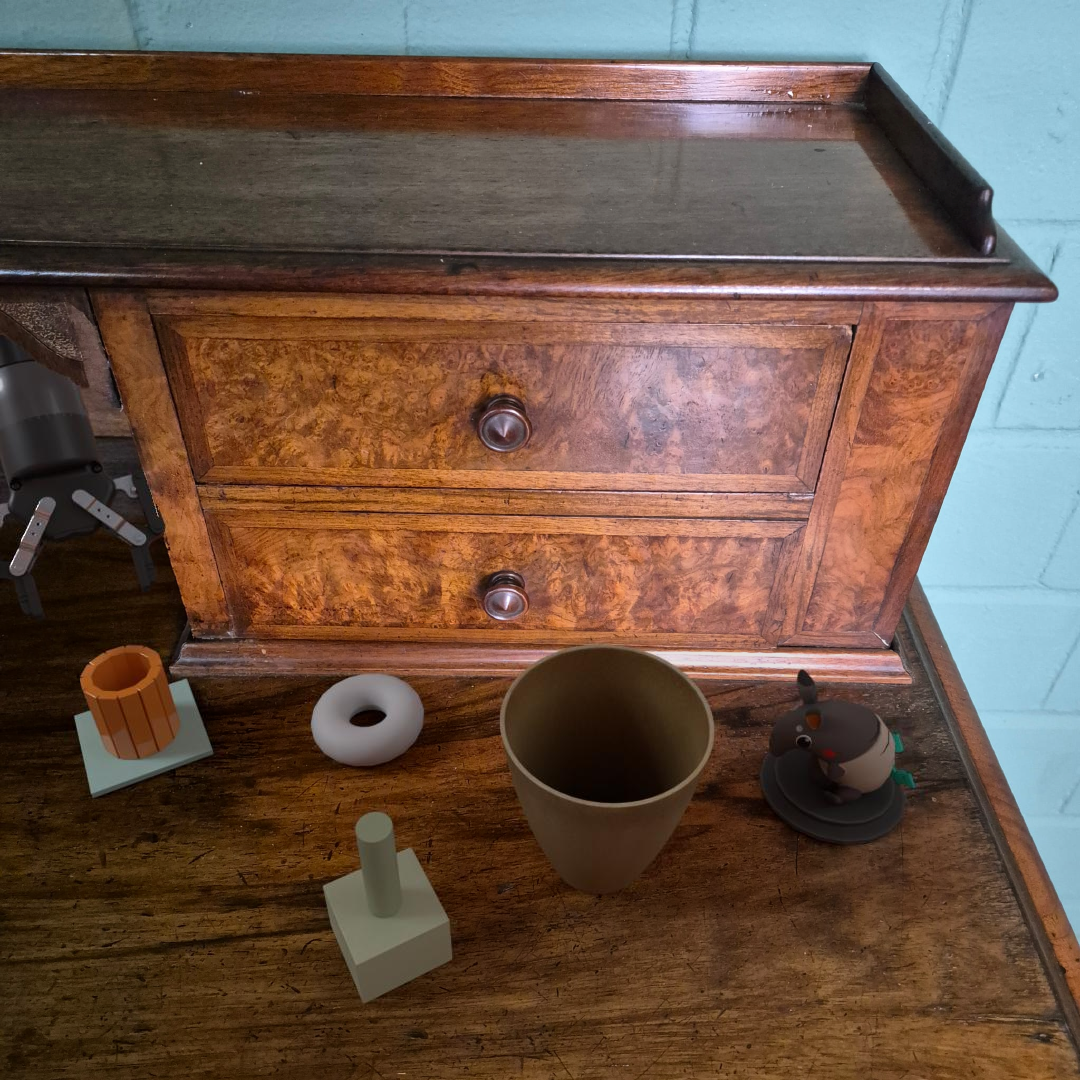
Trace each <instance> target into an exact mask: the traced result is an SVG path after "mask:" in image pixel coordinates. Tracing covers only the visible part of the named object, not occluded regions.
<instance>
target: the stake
mask: <svg viewBox="0 0 1080 1080" xmlns="http://www.w3.org/2000/svg"><path fill="white" fill-rule="evenodd" d="M354 833H355V838H356V844H357V850H358V856H359V862H360V869H358V870H356V871H352V872H350V873H348V874H346V875H344V876H342V877H340V878H337V879H335V880H333V881H330V882H328V883H325V884H324V885H323V886H322V889H323V894H324V895H323V896H324V898H325V905H326V908H327V913H328V918H329V922H330V926H331V929H332V932H333V934H334V937H335V938H336V941H337V944H338V947H339V948H340V951H341V953H342V955H343V958H344V961H345V963H346V966H347V968H348V970H349V973H350V975H351V977H352V980H353V982H354V985H355V987H356V990H357V992H358V995H359V998H360V1000H361V1003H362V1004H363V1005H364V1004H366V1003H369V1002H371V1001H373V1000H374V999H376V998H379V997H380V996H382V995H384V994H386V993H389V992H391V991H393V990H394V989H397V988H399V987H400V986H402V985H405V984H407V983H408V982H410V981H413V980H414V979H416V978H418V977H420V976H422V975H425V974H426V973H428V972H430V971H432V970H434V969H436V968H438V967H440V966H442V965H444V964H446V963H448V962H450V961H452V960H453V949H452V939H451V937H452V936H451V923H450V919H449V917H448V915H447V913H446V910H445V909H444V907H443V906H442V903H441V902H440V898H438V896H437V894H436V892H435V889H434V888H433V886H432V883H431V882H430V880H429V878H428V876H427V874H426V872H425V871H424V869H423V867H422V865H421V863H420V861H419V859H418V857H417V856H416V853H415V852H414V850H413V848H412V846H411V847H407V848H406V849H402V850H401V851H399V852H397V847H396V839H395V832H394V825H393V820H392V818H391V817H390V816H389V815H388V814H386V813H384V812H381V811H372V812H371V811H370V812H368V813H366V814H364V815H362V816H361V817H360V818H359V819H358V821H356V824H355V828H354Z"/></svg>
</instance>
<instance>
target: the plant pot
mask: <svg viewBox="0 0 1080 1080" xmlns="http://www.w3.org/2000/svg"><path fill="white" fill-rule="evenodd" d="M499 728H500V729H499V731H500V736H501V740H502V744H503V751H504V753H505V756H506V761H507V764H508V765H507V766H508V769H509V773H510V778H511V780H512V783H513V786H514V787H513V788H514V790H515V794H516V796H517V798H518V801H519V804H520V806H521V809H522V812H523V814H524V817H525V819H526V821H527V823H528V825H529V828H530V829H531V832H532V833H533V835H534V838H535V840H536V842H537V844H538V845H539V847H540V848H541V850H542V853H544V854H543V855H545V857H546V858H547V860H548V861H549V863H550V865H551V866H552V868H554V870H555V871H556V873H557V874H558V875H559V877H560V878H561V879H562V880H563V881H564V882H565V883H567V884H568V885H569V886H570V887H572V888H574V889H576V890H579V891H581V892H584V893H588V894H593V895H608V894H612V893H616V892H618V891H621V890H623V889H625V888H627V887H628V886H629V885H631V884H632V883H633V882H634V881H635V880H636V879H637V878H638V877H639V876H640V875H641V874H642V873H643V872H644V871H645V870H646V869H647V868H648V866H649V865H651V863H652V862H653V861H654V860H655V858H656V857H657V856H658V854H660V852H661V851H662V849H663V848H664V847H665V845H666V843H667V842H668V841H669V839H670V838H671V836H672V835H673V833H674V831H675V830H676V829H677V827H678V825H679V823H680V822H681V820H682V818H683V816H684V814H685V812H686V810H687V809H688V807H689V804H690V802H691V800H692V799H693V796H694V794H695V792H696V789H697V787H698V785H699V782H700V781H701V778H702V776H703V773H704V771H705V769H706V766H707V764H708V761H709V758H710V756H711V753H712V750H713V746H714V739H715V724H714V716H713V712H712V710H711V706H710V704H709V702H708V701H707V699H706V696H705V695H704V693H703V692H702V691H701V689H700V688H699V686H698V685H697V684H696V683H695V682H694V680H692V679H691V677H689V675H687V674H686V673H685V672H684V671H682V670H681V669H680V668H678V667H677V666H676V665H675V664H673V663H671V662H670V661H667V660H666V659H664V658H663V657H660V656H658V655H656V654H653V653H651V652H648V651H645V650H643V649H639V648H634V647H630V646H624V645H620V644H619V645H618V644H606V643H605V644H601V643H600V644H599V643H598V644H583V645H578V646H577V645H576V646H572V647H567V648H564V649H560V650H558V651H555V652H553V653H550V654H547V655H546V656H543V657H542V658H539V659H538V660H536V661H535V662H534V663H532V664H530V665H529V666H528V667H527V668H525V669H524V670H523V671H522V672H521V673H520V674H519V675H517V676H516V678H515V679H514V680H513V682H512V683H511V684H510V686H509V687H508V690H507V691H506V694H505V695H504V698H503V700H502V703H501V706H500V711H499Z"/></svg>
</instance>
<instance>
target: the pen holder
mask: <svg viewBox="0 0 1080 1080" xmlns="http://www.w3.org/2000/svg"><path fill="white" fill-rule="evenodd" d="M163 665H164V664H163V663H162V659H161V656H160V654H159V653H158V652H157V651H155V650H153V649H152V648H150V647H147V646H144V645H133V644H132V645H131V644H130V645H129V644H127V645H126V646H124V645H121V646H119V647H115V648H111V649H109V650H106V651H105V652H102V653H101V654H98V656H97V657H95V658H93V659H92V660H90V661H89V662H88V664H86V666H85V667H84V670H83V671H82V673H81V675H80V678H79V680H80V685H81V690H82V692H83V695H84V698H85V700H86V702H87V705H88V708H89V711H91V714H92V716H93V719H94V721H95V724H96V726H97V729H98V732H99V734H100V737H101V739H102V742H103V745H104V747H105V750H107V752H108V753H110V754H111V755H113V756H115V757H116V758H118V759H119V758H121V759H136V760H137V759H138V757H140V759H142V758H145V757H148V756H151V755H154V754H156V753H158V751H157V750H159V751H162V750H163V749H164V748H165V747H166V746H168V745H169V744H170V743H171V742H172V741H173V739H175V738H176V735H177V733H178V731H179V728H180V724H181V723H180V720H179V717H178V714H177V710H176V707H175V704H174V701H173V697H172V694H171V691H170V688H169V684H170V683H169V682H168V679H167V675H166V672H165V669H164V666H163Z"/></svg>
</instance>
